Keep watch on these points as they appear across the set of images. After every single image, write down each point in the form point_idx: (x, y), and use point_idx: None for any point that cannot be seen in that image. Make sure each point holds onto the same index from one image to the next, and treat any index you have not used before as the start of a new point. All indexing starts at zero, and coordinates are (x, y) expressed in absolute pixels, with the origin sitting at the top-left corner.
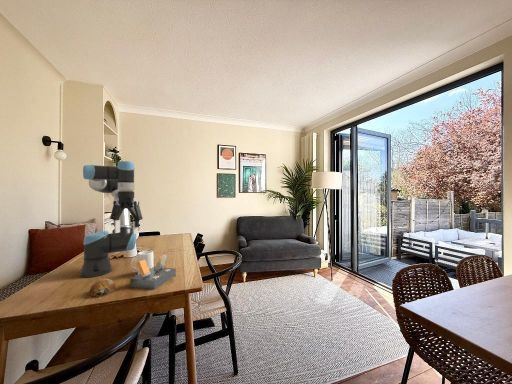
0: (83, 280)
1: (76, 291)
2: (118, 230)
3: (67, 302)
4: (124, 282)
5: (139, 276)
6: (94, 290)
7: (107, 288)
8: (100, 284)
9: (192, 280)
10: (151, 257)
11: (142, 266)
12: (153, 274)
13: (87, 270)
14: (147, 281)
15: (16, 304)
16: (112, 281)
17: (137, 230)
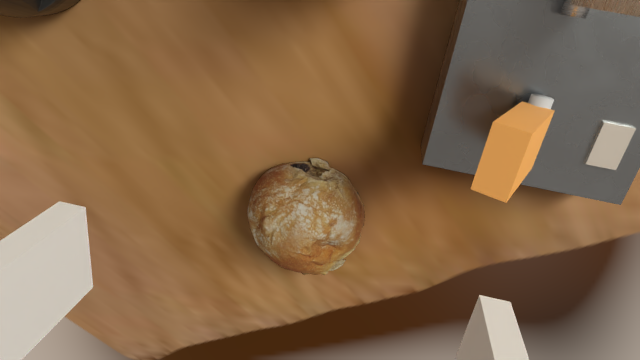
0: (71, 61)
1: (174, 199)
2: (59, 260)
3: (235, 291)
4: (345, 84)
5: (471, 127)
6: (304, 273)
7: (350, 250)
8: (313, 267)
9: None
10: None
11: (522, 177)
12: (571, 86)
13: (7, 13)
14: (559, 189)
15: None
16: (344, 221)
17: (520, 358)
